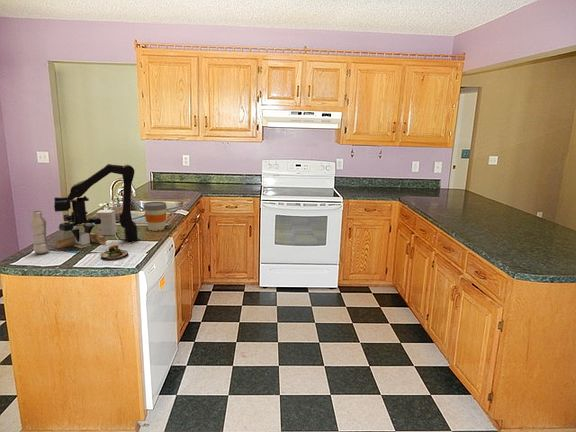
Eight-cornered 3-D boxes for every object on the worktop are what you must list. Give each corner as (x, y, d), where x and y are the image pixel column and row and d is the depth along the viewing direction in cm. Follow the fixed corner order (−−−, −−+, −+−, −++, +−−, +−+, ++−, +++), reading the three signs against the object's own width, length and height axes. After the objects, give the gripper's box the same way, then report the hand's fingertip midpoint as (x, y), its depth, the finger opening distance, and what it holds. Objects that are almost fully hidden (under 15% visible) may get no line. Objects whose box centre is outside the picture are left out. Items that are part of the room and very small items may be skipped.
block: (83, 240, 202) (82, 231, 201) (89, 242, 199) (88, 233, 198) (75, 242, 199) (74, 233, 198) (82, 244, 196) (81, 235, 195)
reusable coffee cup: (169, 230, 230) (168, 205, 226) (146, 232, 225) (144, 206, 221) (165, 225, 241) (164, 201, 237) (144, 227, 236) (142, 202, 232)
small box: (116, 232, 224) (115, 209, 221) (113, 235, 218) (111, 212, 215) (102, 232, 223) (99, 209, 220) (97, 235, 217) (95, 212, 214)
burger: (98, 262, 178) (96, 246, 176) (103, 253, 189) (102, 238, 188) (126, 260, 181) (125, 244, 179) (130, 252, 192) (129, 237, 190)
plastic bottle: (32, 255, 183) (26, 213, 179) (36, 251, 190) (31, 210, 185) (47, 254, 185) (42, 213, 180) (51, 250, 191) (46, 209, 187)
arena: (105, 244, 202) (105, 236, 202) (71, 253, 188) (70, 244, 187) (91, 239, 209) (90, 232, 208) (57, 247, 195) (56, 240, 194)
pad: (91, 245, 200) (91, 244, 200) (80, 248, 196) (80, 247, 195) (85, 242, 204) (85, 242, 204) (73, 245, 199) (73, 245, 199)
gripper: (88, 204, 207) (90, 233, 211) (51, 211, 192) (54, 241, 196) (100, 207, 201) (103, 237, 205) (63, 214, 186) (67, 246, 190)
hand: (82, 240), depth 199 cm, fingers closed on block, 4 cm apart
